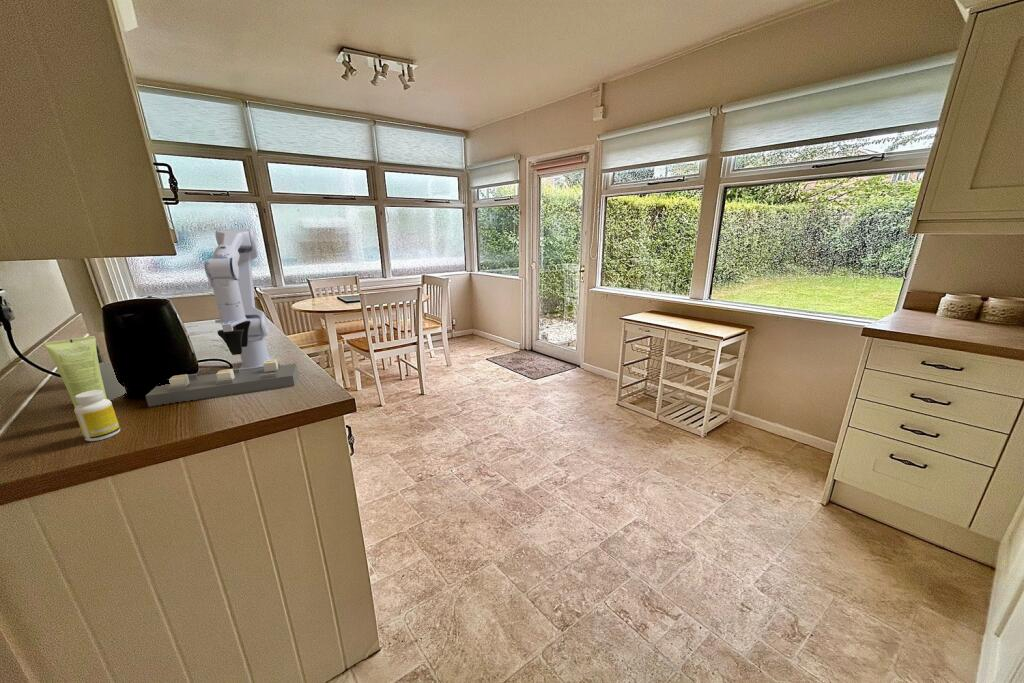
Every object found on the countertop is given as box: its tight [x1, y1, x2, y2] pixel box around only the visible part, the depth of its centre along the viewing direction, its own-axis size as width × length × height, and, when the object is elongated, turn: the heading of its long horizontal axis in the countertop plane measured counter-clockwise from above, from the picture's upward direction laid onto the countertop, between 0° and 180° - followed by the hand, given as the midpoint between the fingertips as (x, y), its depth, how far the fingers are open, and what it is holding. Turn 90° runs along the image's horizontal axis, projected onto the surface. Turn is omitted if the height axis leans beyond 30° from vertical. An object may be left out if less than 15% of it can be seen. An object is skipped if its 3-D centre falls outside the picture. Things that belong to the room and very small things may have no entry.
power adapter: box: [99, 353, 127, 401], centre depth 98 cm, size 3×5×12 cm, turn 177°
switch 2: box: [263, 358, 279, 372], centre depth 110 cm, size 3×3×3 cm
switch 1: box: [168, 373, 190, 387], centre depth 99 cm, size 3×3×3 cm
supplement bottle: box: [73, 390, 121, 442], centre depth 80 cm, size 5×5×10 cm
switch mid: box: [215, 368, 235, 380], centre depth 102 cm, size 3×3×3 cm
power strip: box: [145, 363, 299, 408], centre depth 105 cm, size 11×32×4 cm, turn 114°
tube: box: [43, 335, 107, 408], centre depth 86 cm, size 6×5×20 cm
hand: (240, 350), depth 107 cm, fingers open, 7 cm apart
